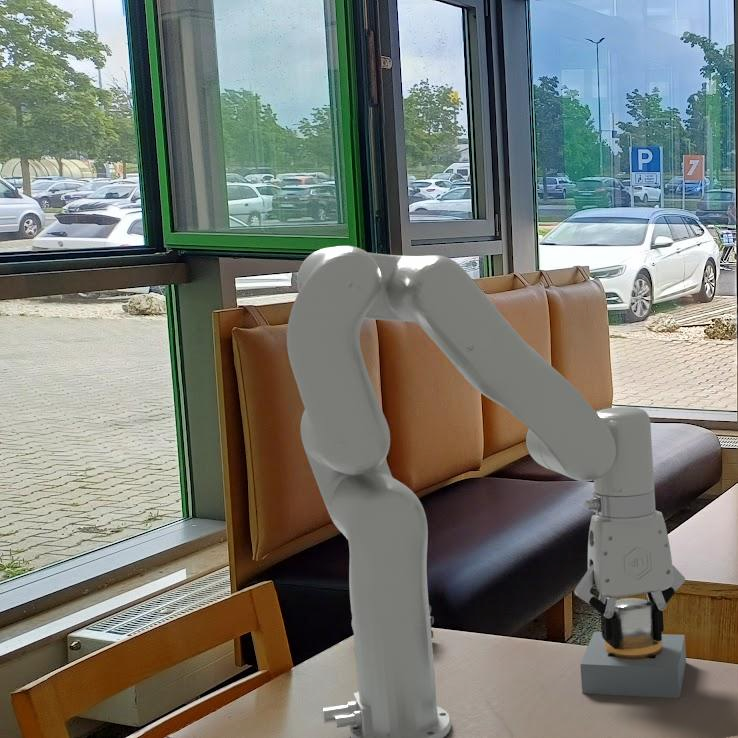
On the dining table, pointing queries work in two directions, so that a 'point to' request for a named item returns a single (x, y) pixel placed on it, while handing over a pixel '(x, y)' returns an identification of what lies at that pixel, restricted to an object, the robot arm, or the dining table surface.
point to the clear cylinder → (634, 630)
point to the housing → (634, 670)
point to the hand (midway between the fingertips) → (633, 639)
